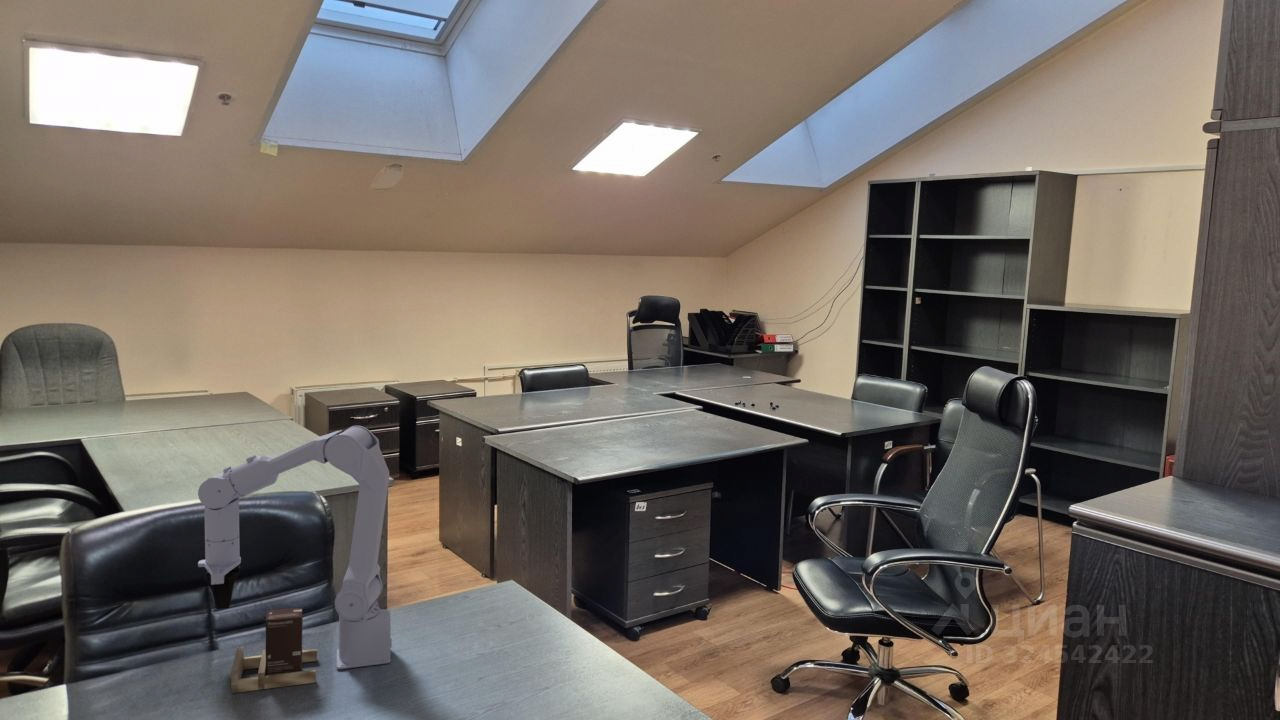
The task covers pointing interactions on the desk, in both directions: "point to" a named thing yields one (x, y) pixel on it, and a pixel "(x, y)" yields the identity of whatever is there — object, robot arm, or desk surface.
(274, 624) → the box
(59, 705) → the desk surface
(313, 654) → the wooden slat rack
